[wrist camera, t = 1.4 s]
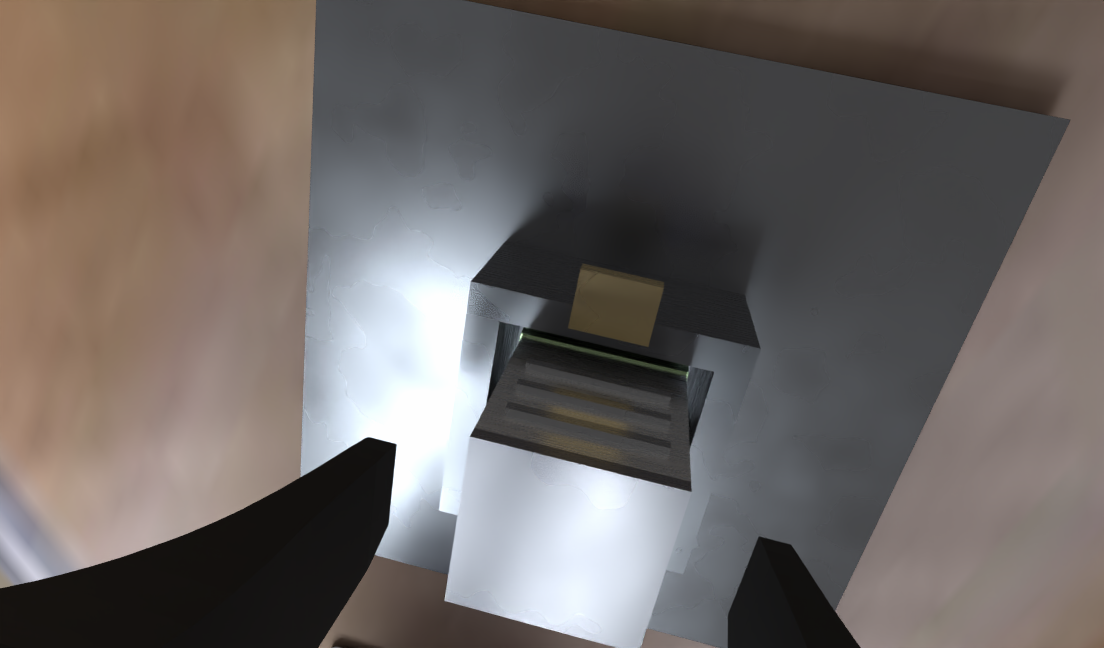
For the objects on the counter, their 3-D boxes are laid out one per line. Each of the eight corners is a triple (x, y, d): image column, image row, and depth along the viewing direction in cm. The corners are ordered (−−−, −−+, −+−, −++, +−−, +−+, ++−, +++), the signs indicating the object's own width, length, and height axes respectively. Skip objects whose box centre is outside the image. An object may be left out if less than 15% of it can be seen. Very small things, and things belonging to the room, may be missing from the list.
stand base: (800, 646, 23) (831, 789, 19) (312, 516, 25) (233, 619, 20) (1047, 115, 16) (1193, 142, 12) (335, -25, 17) (219, -51, 13)
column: (650, 452, 20) (640, 656, 13) (517, 419, 20) (441, 602, 14) (687, 325, 18) (697, 485, 12) (541, 291, 18) (467, 428, 12)
